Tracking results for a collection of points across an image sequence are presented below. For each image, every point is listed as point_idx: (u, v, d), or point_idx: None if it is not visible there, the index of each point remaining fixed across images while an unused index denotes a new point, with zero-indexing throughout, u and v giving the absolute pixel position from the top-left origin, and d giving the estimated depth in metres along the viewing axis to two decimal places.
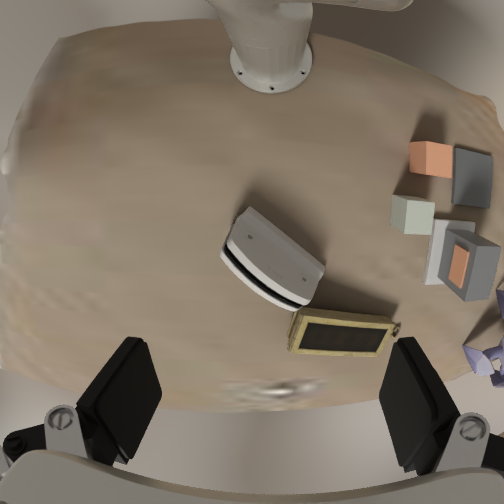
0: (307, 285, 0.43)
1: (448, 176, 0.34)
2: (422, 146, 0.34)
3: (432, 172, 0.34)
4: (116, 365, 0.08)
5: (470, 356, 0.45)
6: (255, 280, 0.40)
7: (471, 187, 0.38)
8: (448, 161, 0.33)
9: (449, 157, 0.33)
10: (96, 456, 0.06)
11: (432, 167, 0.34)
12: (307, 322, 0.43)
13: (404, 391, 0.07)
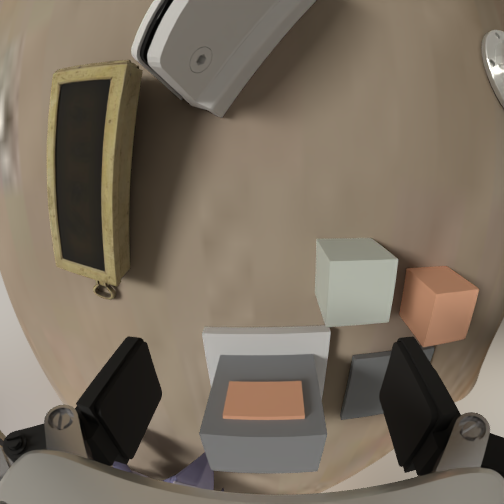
0: (189, 66, 0.16)
1: (426, 341, 0.20)
2: (465, 284, 0.19)
3: (437, 306, 0.19)
4: (116, 365, 0.08)
5: None
6: None
7: (376, 384, 0.27)
8: (447, 336, 0.19)
9: (452, 336, 0.19)
10: (96, 456, 0.06)
11: (445, 306, 0.19)
12: (109, 78, 0.15)
13: (404, 391, 0.07)
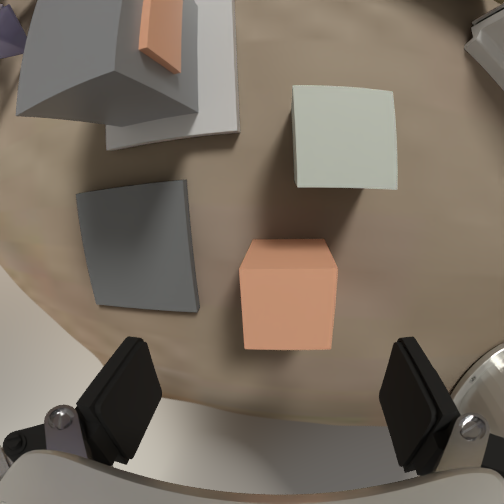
0: None
1: (251, 272, 0.14)
2: None
3: (315, 276, 0.14)
4: (116, 365, 0.08)
5: None
6: None
7: (136, 229, 0.20)
8: (255, 312, 0.15)
9: (253, 322, 0.15)
10: (96, 456, 0.06)
11: (314, 291, 0.14)
12: None
13: (404, 391, 0.07)
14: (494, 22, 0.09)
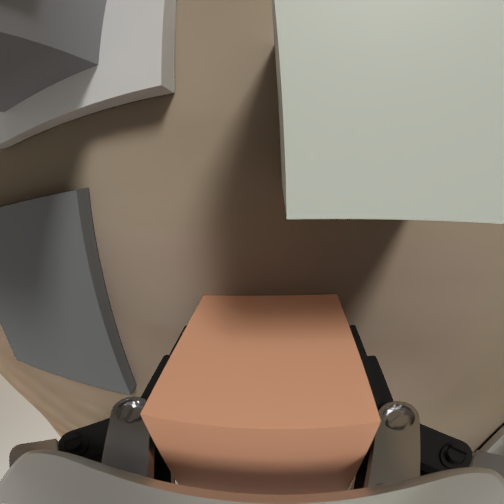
0: None
1: (168, 424, 0.05)
2: None
3: (324, 438, 0.05)
4: None
5: None
6: None
7: (30, 270, 0.10)
8: (193, 472, 0.06)
9: (193, 480, 0.06)
10: (159, 453, 0.06)
11: (317, 456, 0.05)
12: None
13: None
14: None
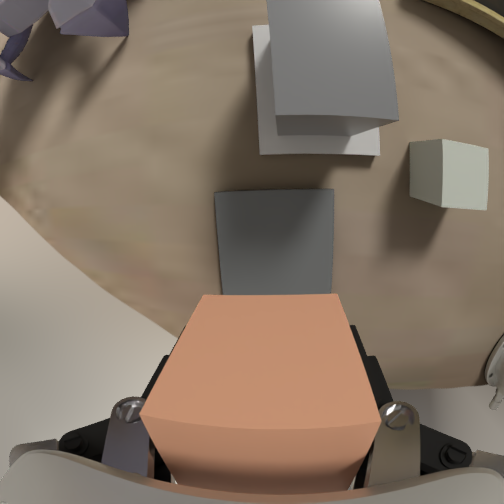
0: None
1: (167, 424, 0.05)
2: None
3: (324, 438, 0.05)
4: None
5: None
6: None
7: (285, 229, 0.24)
8: (193, 472, 0.06)
9: (193, 480, 0.06)
10: None
11: (317, 457, 0.05)
12: None
13: None
14: None
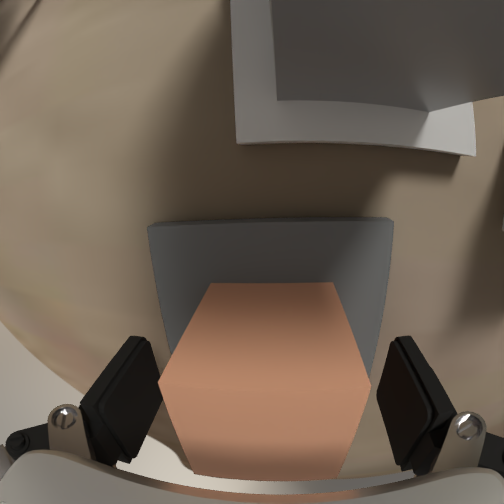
0: None
1: (183, 391, 0.06)
2: None
3: (321, 401, 0.06)
4: (120, 364, 0.08)
5: None
6: None
7: None
8: (202, 442, 0.07)
9: (201, 451, 0.07)
10: (99, 455, 0.06)
11: (315, 422, 0.06)
12: None
13: (401, 390, 0.07)
14: None
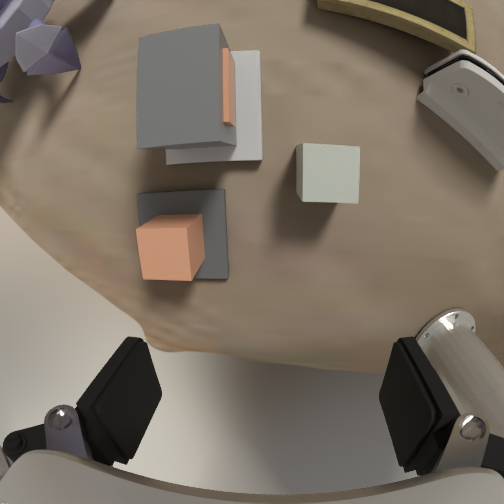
0: (456, 82, 0.19)
1: (141, 231, 0.25)
2: (194, 267, 0.27)
3: (174, 232, 0.24)
4: (116, 365, 0.08)
5: None
6: None
7: None
8: (146, 254, 0.25)
9: (145, 261, 0.26)
10: (96, 456, 0.06)
11: (175, 241, 0.25)
12: (467, 39, 0.16)
13: (404, 391, 0.07)
14: (440, 78, 0.20)
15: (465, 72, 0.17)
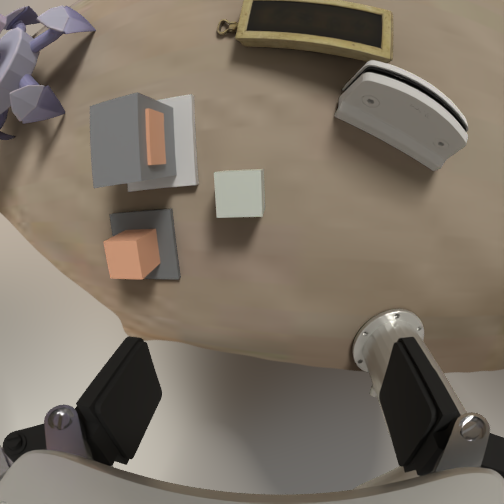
0: (365, 95, 0.26)
1: (107, 242, 0.32)
2: (145, 269, 0.34)
3: (128, 243, 0.32)
4: (116, 365, 0.08)
5: (80, 21, 0.25)
6: (437, 99, 0.22)
7: None
8: (111, 260, 0.33)
9: (111, 264, 0.33)
10: (96, 456, 0.06)
11: (129, 250, 0.32)
12: (381, 47, 0.23)
13: (404, 391, 0.07)
14: (349, 93, 0.27)
15: (368, 84, 0.24)
